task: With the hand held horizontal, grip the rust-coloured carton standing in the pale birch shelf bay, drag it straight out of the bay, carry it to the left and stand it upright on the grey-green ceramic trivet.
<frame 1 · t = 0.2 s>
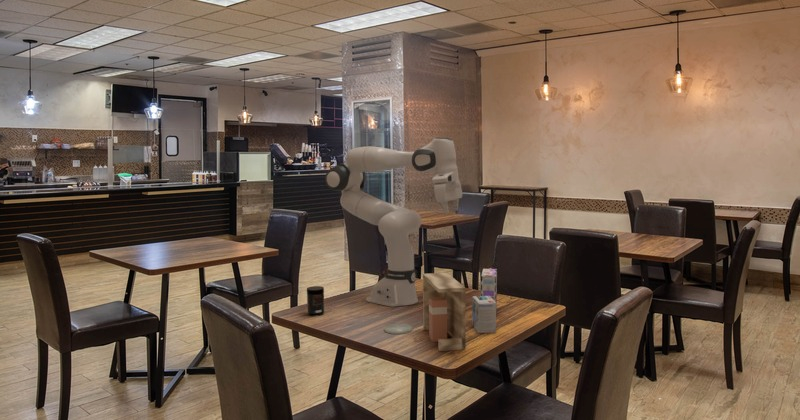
hand: (451, 211, 228), 39 cm above the table, tool pointing down, fingers open, 8 cm apart
supplement container: (316, 314, 226), on the table
trivet: (398, 329, 204), on the table
light bulb box: (483, 329, 205), on the table
carton: (437, 339, 193), on the table
candy box: (488, 313, 224), on the table
shelf: (439, 338, 193), on the table
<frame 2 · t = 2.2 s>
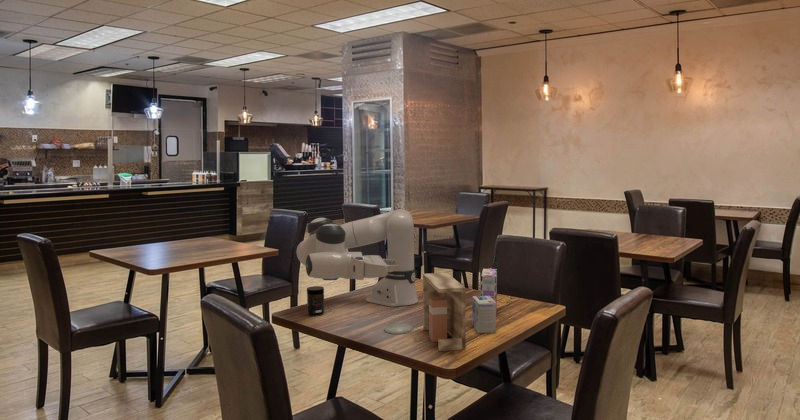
hand: (397, 265, 189), 26 cm above the table, tool horizontal, fingers open, 8 cm apart
nothing on the table moved.
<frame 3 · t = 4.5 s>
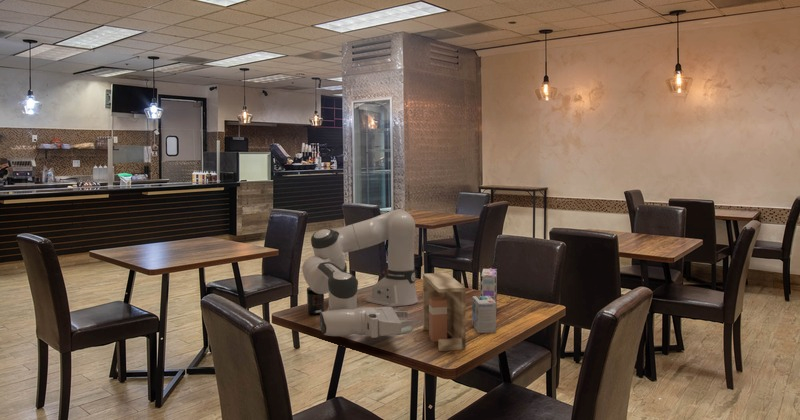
hand: (410, 318, 191), 8 cm above the table, tool horizontal, fingers open, 8 cm apart
nothing on the table moved.
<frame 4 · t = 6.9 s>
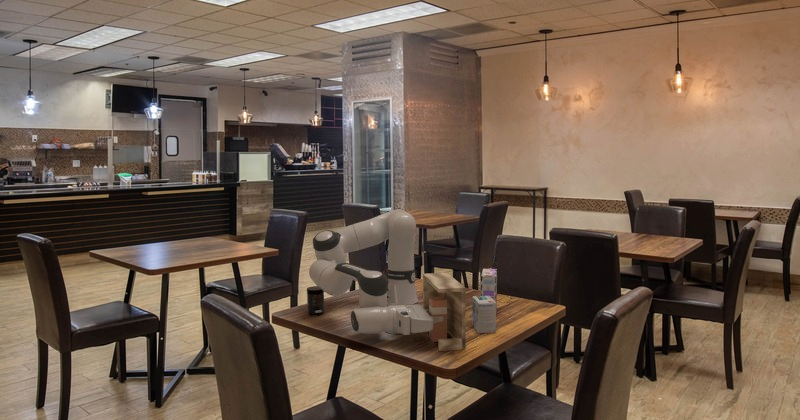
hand: (440, 315, 193), 8 cm above the table, tool horizontal, fingers closed on carton, 5 cm apart
carton: (438, 339, 193), on the table, touching gripper
everything else where it was.
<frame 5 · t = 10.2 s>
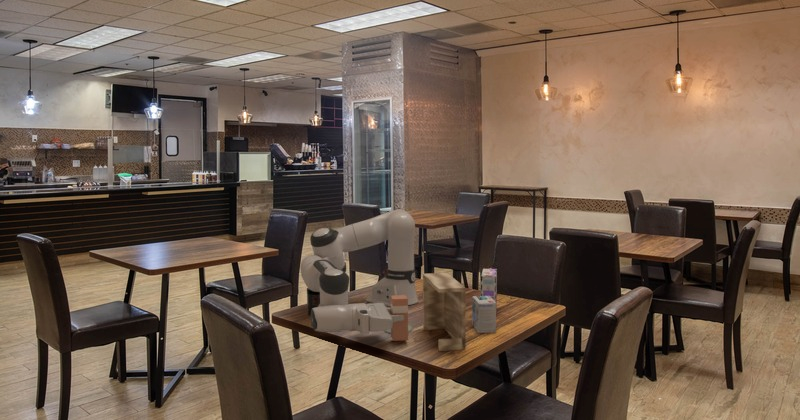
hand: (401, 314, 190), 9 cm above the table, tool horizontal, fingers closed on carton, 5 cm apart
carton: (399, 338, 191), point 1 cm above the table, touching gripper
everything else where it was.
when the fingers open (10 cm above the table, at t = 13.9 s): carton drops 1 cm, resting on trivet.
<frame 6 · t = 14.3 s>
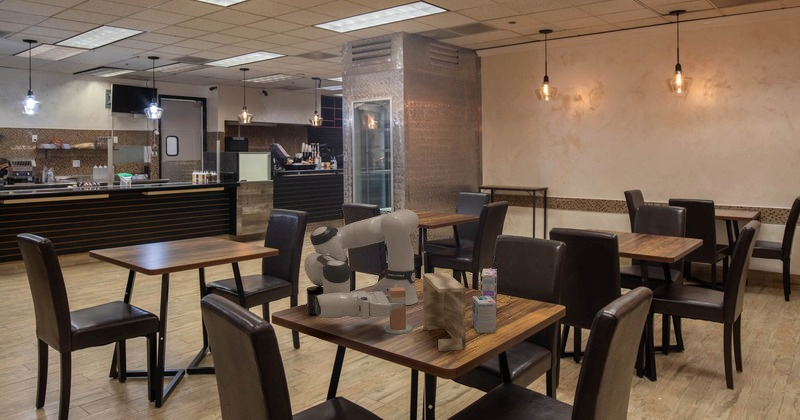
hand: (400, 301, 203), 10 cm above the table, tool horizontal, fingers open, 8 cm apart
carton: (397, 327, 204), point 1 cm above the table, touching trivet
everything else where it was.
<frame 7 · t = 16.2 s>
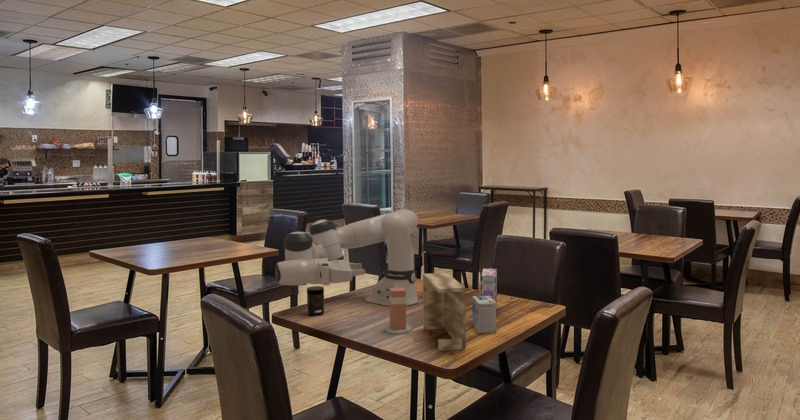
hand: (363, 268, 199), 23 cm above the table, tool horizontal, fingers open, 8 cm apart
nothing on the table moved.
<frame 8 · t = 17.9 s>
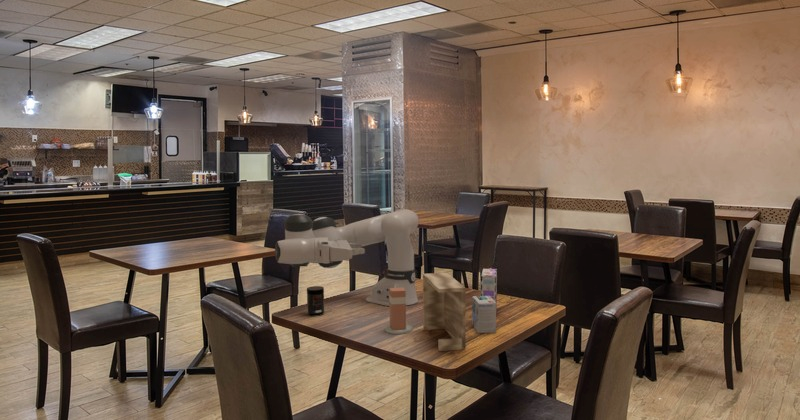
hand: (362, 248, 199), 30 cm above the table, tool horizontal, fingers open, 8 cm apart
nothing on the table moved.
at the end: carton inside the target area on the trivet (0.1 cm from its centre), point 0.8 cm above the trivet's base; carton tilted 0°; the gripper is holding nothing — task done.
